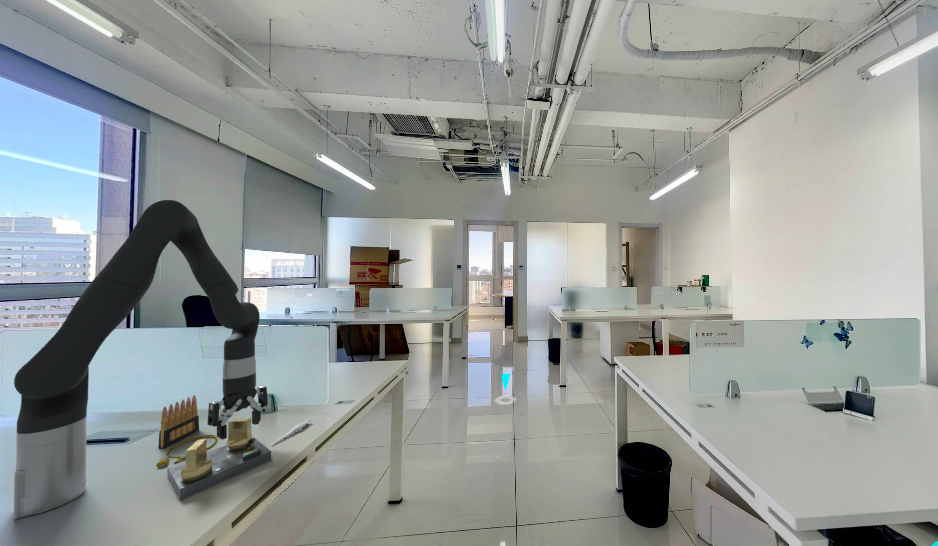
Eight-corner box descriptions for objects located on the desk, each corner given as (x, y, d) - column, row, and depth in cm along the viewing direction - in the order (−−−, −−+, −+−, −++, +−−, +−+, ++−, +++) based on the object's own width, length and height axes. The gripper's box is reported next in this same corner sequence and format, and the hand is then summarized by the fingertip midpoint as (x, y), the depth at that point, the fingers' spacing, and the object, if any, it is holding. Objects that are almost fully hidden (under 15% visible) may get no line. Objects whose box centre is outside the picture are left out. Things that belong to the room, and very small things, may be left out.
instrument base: (179, 500, 66) (179, 484, 66) (167, 476, 75) (167, 462, 75) (271, 460, 81) (270, 447, 81) (252, 444, 89) (252, 432, 89)
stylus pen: (307, 422, 103) (307, 417, 103) (313, 423, 102) (313, 418, 102) (267, 448, 88) (267, 442, 88) (274, 449, 87) (274, 443, 87)
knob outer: (221, 451, 81) (221, 425, 81) (236, 440, 87) (236, 415, 87) (246, 449, 81) (246, 423, 82) (259, 438, 87) (259, 414, 87)
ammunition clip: (163, 448, 88) (164, 407, 88) (158, 448, 88) (158, 407, 88) (199, 430, 98) (199, 394, 99) (194, 430, 99) (194, 393, 99)
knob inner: (205, 478, 70) (205, 448, 70) (174, 484, 68) (175, 453, 68) (218, 462, 76) (218, 434, 76) (190, 467, 74) (190, 439, 74)
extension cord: (135, 468, 79) (135, 460, 80) (197, 437, 95) (197, 430, 95) (173, 471, 78) (173, 464, 78) (230, 439, 93) (230, 433, 93)
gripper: (256, 365, 92) (257, 418, 92) (201, 379, 79) (201, 441, 79) (273, 367, 90) (273, 421, 89) (219, 382, 76) (219, 446, 76)
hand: (239, 430), depth 84 cm, fingers open, 8 cm apart
